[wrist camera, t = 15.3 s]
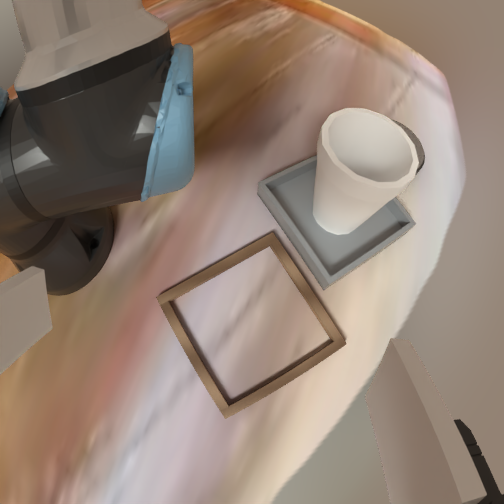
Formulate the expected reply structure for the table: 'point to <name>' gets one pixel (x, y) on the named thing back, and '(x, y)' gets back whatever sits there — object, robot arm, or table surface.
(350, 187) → the foam cup
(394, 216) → the tray
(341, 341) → the square wooden frame
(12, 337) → the robot arm
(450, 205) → the table surface
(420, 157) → the metal pot lid
